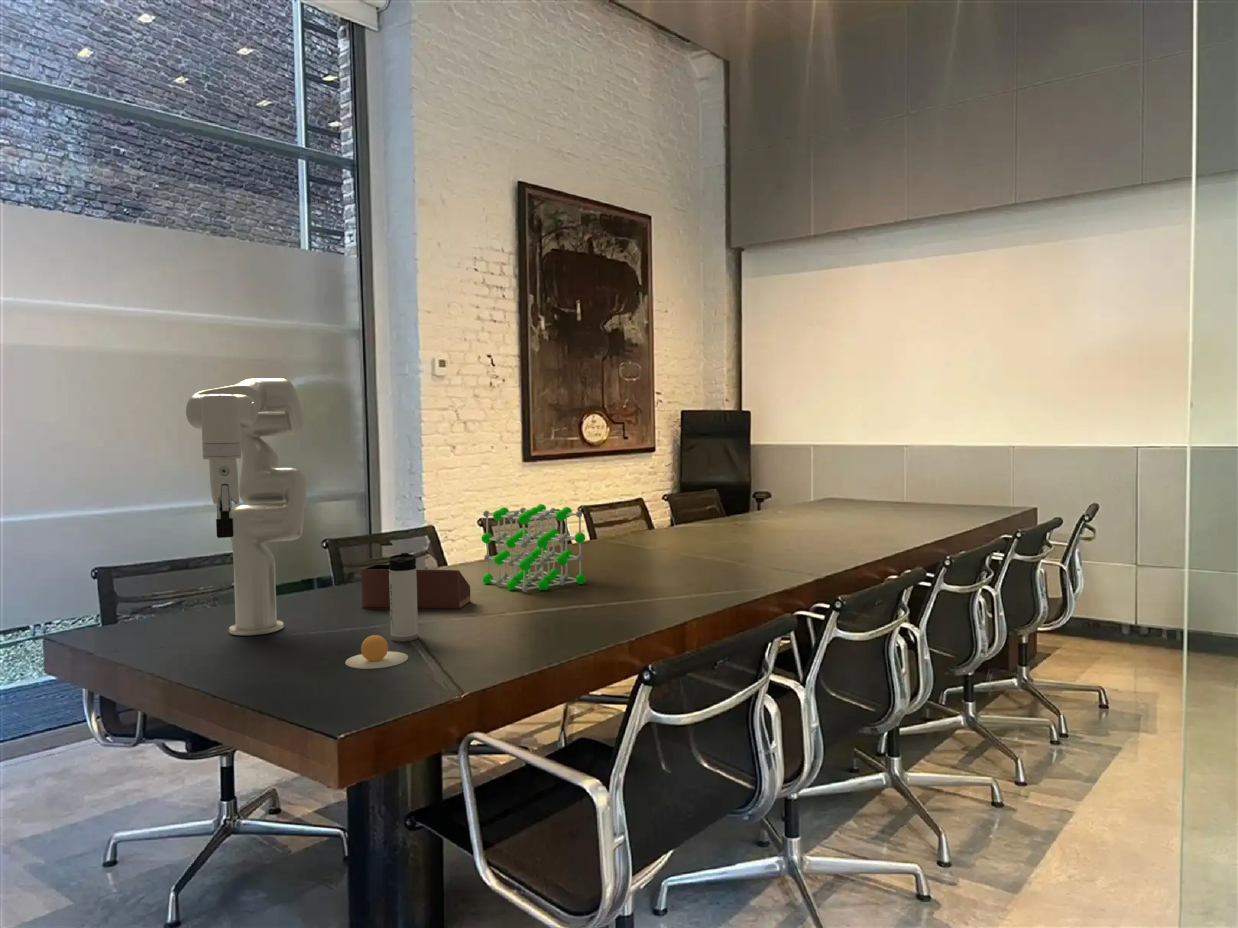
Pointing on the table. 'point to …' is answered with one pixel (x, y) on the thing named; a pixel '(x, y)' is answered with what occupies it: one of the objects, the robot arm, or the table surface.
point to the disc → (387, 661)
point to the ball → (374, 648)
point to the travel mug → (403, 597)
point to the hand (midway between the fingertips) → (225, 536)
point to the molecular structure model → (541, 551)
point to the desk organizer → (431, 589)
